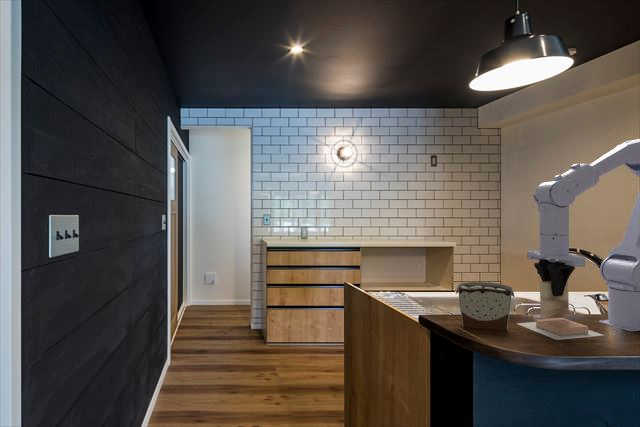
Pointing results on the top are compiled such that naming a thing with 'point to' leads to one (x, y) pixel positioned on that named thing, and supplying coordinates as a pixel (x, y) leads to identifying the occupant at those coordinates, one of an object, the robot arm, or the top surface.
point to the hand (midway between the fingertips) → (554, 294)
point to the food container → (485, 305)
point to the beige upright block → (553, 302)
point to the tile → (562, 327)
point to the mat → (533, 327)
